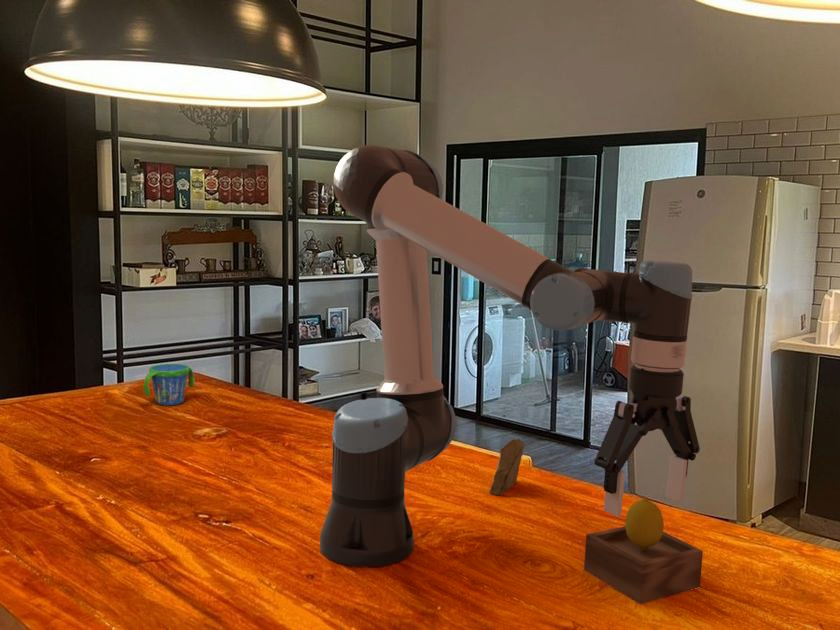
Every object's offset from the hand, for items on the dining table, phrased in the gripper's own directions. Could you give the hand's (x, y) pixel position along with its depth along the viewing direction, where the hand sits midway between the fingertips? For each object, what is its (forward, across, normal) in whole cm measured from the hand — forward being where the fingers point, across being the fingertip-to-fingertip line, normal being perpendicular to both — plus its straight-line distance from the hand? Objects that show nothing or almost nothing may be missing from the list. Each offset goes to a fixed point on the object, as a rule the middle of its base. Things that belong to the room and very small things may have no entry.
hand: (644, 506), depth 118 cm
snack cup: (+15, -32, +140) cm, 145 cm away
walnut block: (+12, 0, 0) cm, 12 cm away
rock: (+12, +7, +42) cm, 45 cm away
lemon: (+7, 0, 0) cm, 7 cm away
